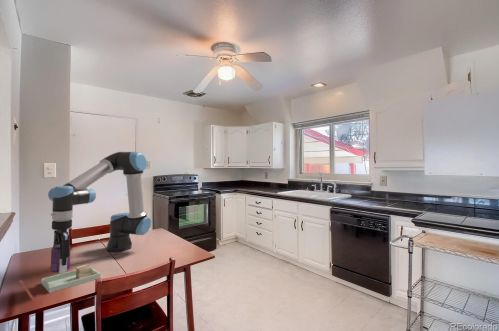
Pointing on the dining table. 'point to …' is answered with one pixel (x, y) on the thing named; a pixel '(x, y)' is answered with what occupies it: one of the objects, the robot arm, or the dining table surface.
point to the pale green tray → (66, 280)
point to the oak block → (83, 271)
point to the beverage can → (57, 258)
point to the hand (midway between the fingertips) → (60, 269)
